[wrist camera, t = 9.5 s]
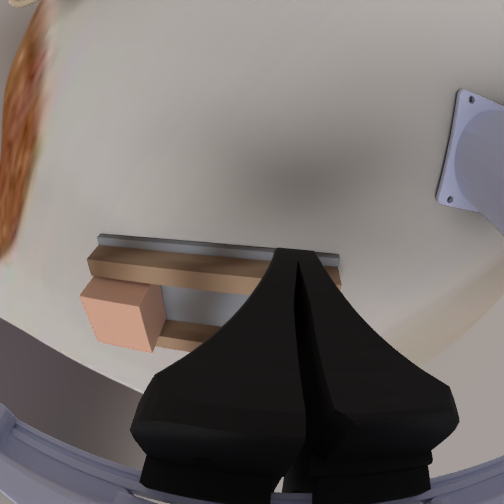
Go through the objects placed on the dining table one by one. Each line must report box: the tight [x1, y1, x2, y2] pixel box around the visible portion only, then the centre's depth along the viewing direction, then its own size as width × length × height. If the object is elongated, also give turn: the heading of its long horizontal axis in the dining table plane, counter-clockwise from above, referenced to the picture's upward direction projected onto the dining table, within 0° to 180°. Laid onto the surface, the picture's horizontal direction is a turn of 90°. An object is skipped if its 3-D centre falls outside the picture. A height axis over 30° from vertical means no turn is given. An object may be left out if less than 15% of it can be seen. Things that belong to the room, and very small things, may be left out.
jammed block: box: [80, 276, 166, 353], centre depth 22 cm, size 5×5×4 cm
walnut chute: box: [87, 234, 341, 352], centre depth 23 cm, size 18×10×2 cm, turn 87°
